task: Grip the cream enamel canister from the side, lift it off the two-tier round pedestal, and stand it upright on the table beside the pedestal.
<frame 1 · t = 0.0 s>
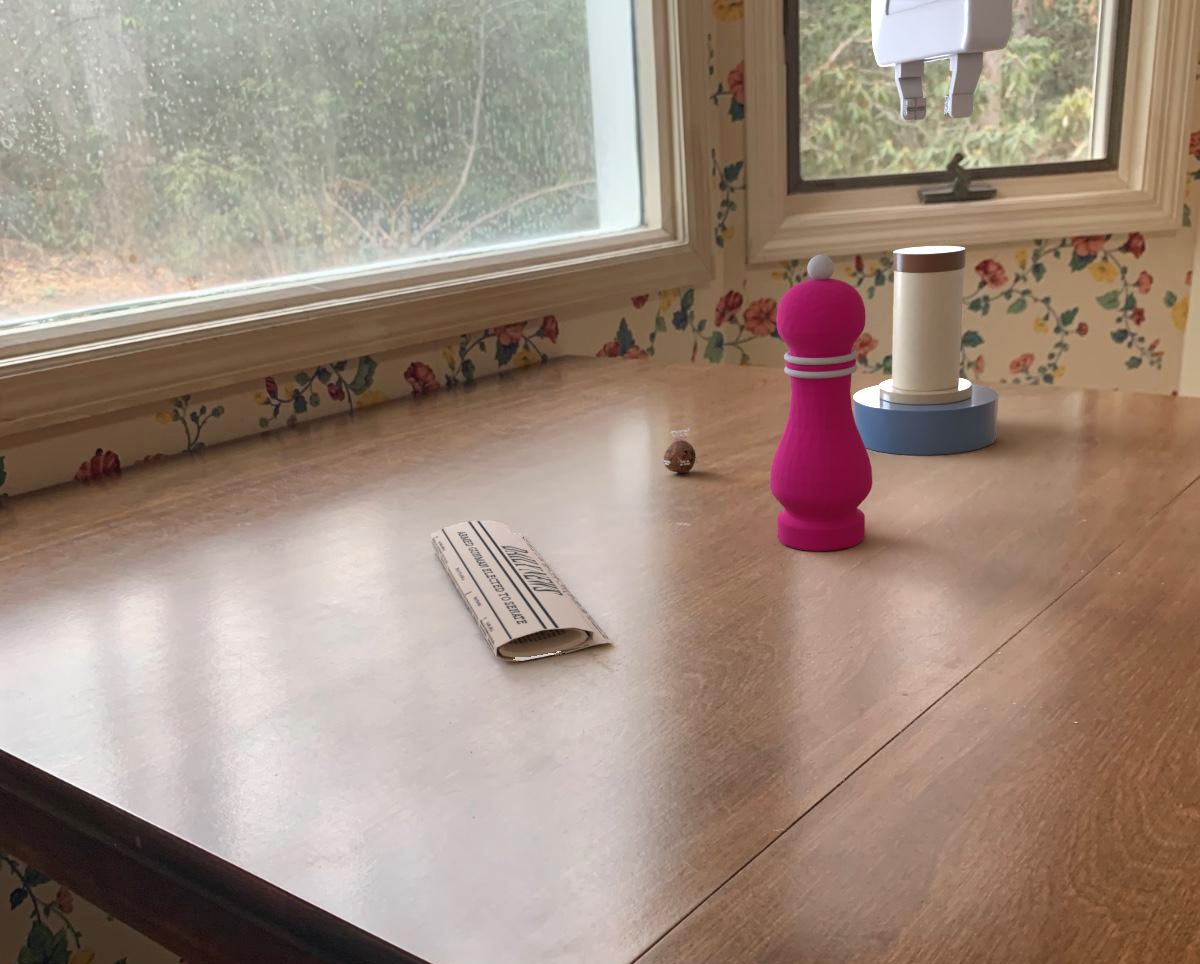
hand: (934, 119, 101), 28 cm above the table, tool pointing down, fingers open, 8 cm apart
newspaper: (511, 594, 82), on the table
pepper mill: (820, 540, 88), on the table
canister: (925, 384, 112), point 5 cm above the table, touching two-tier round pedestal
chocolate: (681, 476, 107), on the table
two-tier round pedestal: (923, 437, 113), on the table
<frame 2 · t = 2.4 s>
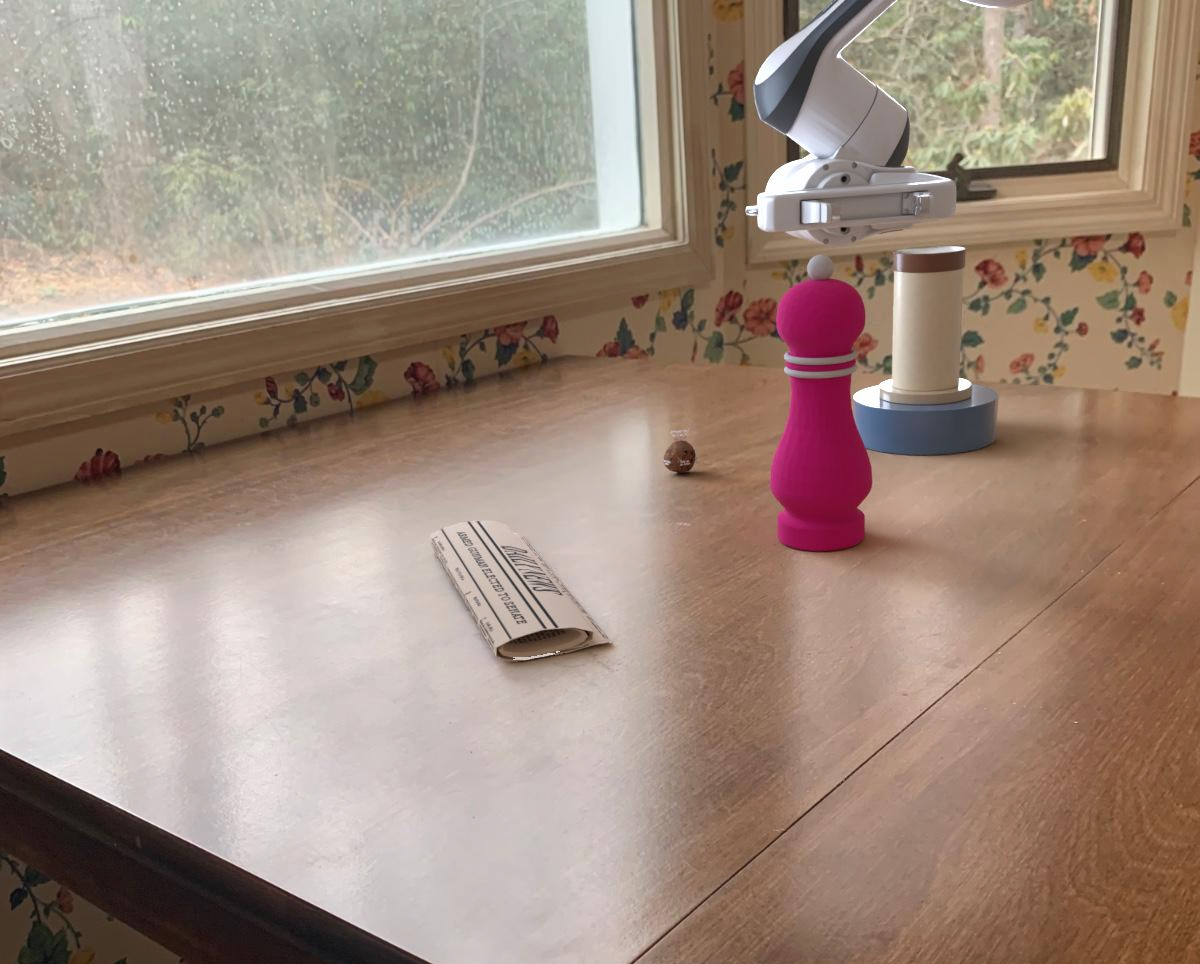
hand: (880, 209, 117), 20 cm above the table, tool horizontal, fingers open, 8 cm apart
nothing on the table moved.
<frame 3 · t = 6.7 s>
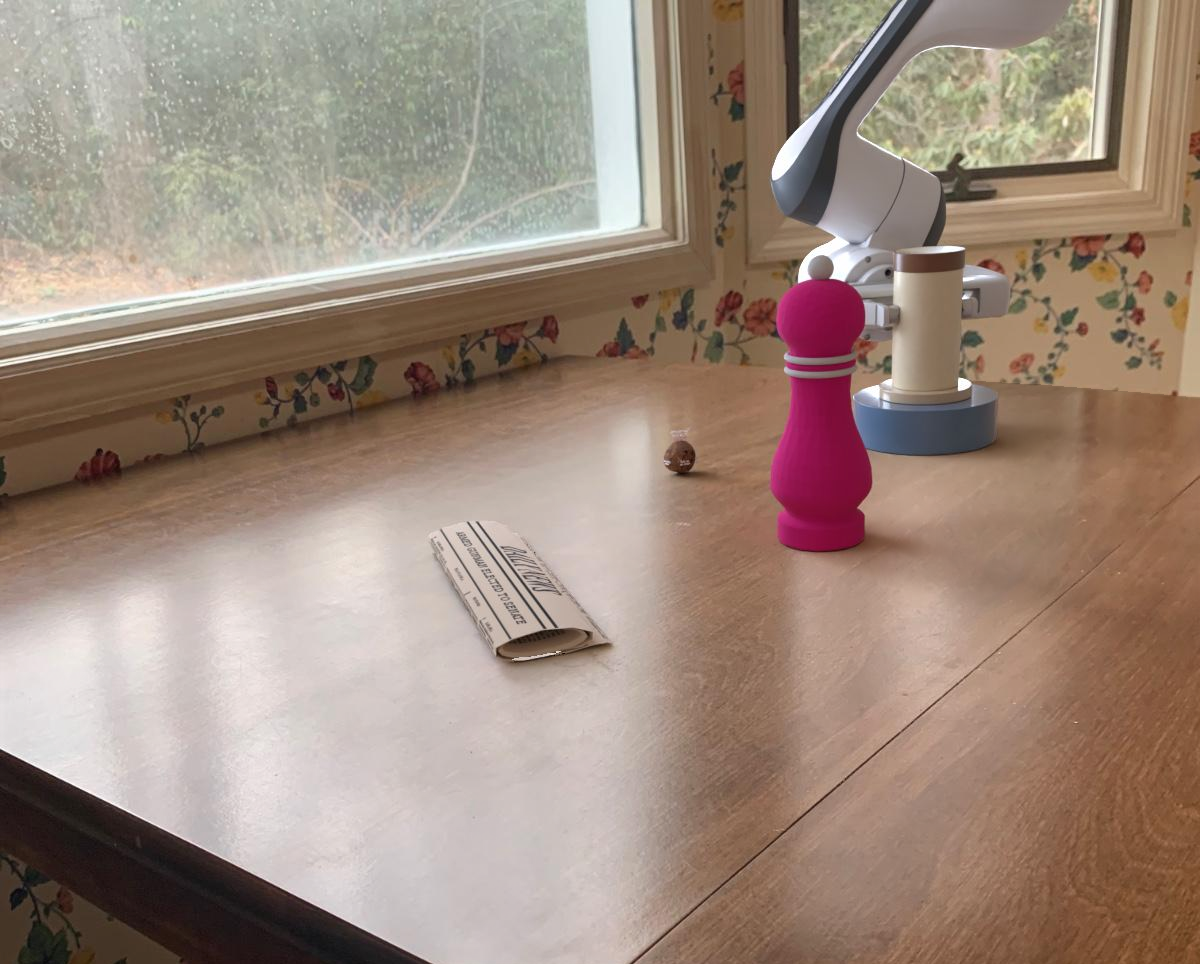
hand: (931, 312, 108), 12 cm above the table, tool horizontal, fingers closed on canister, 6 cm apart
canister: (924, 384, 112), point 5 cm above the table, touching two-tier round pedestal, gripper
everything else where it was.
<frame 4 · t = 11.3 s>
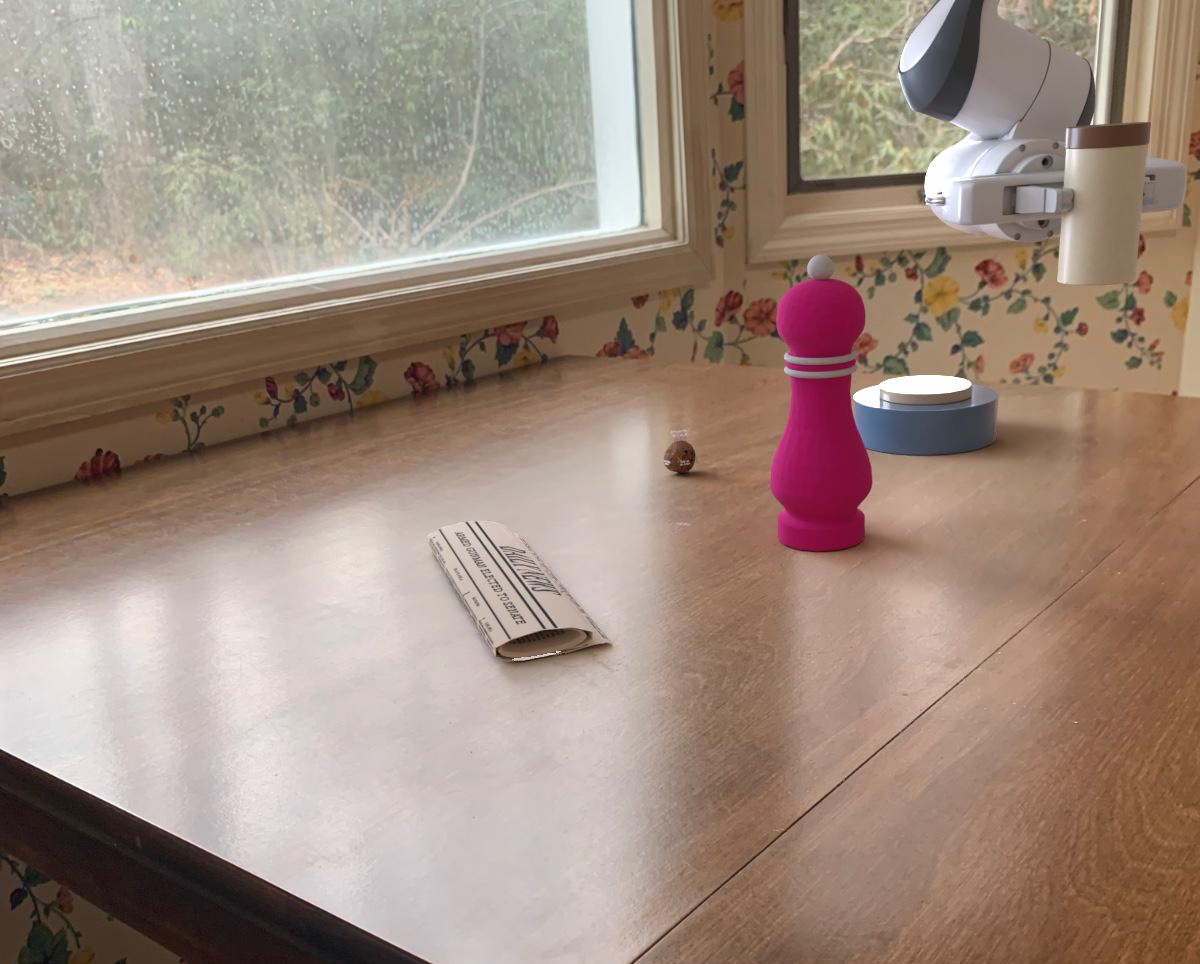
hand: (1109, 197, 97), 21 cm above the table, tool horizontal, fingers closed on canister, 6 cm apart
canister: (1095, 280, 100), point 15 cm above the table, touching gripper
everything else where it was.
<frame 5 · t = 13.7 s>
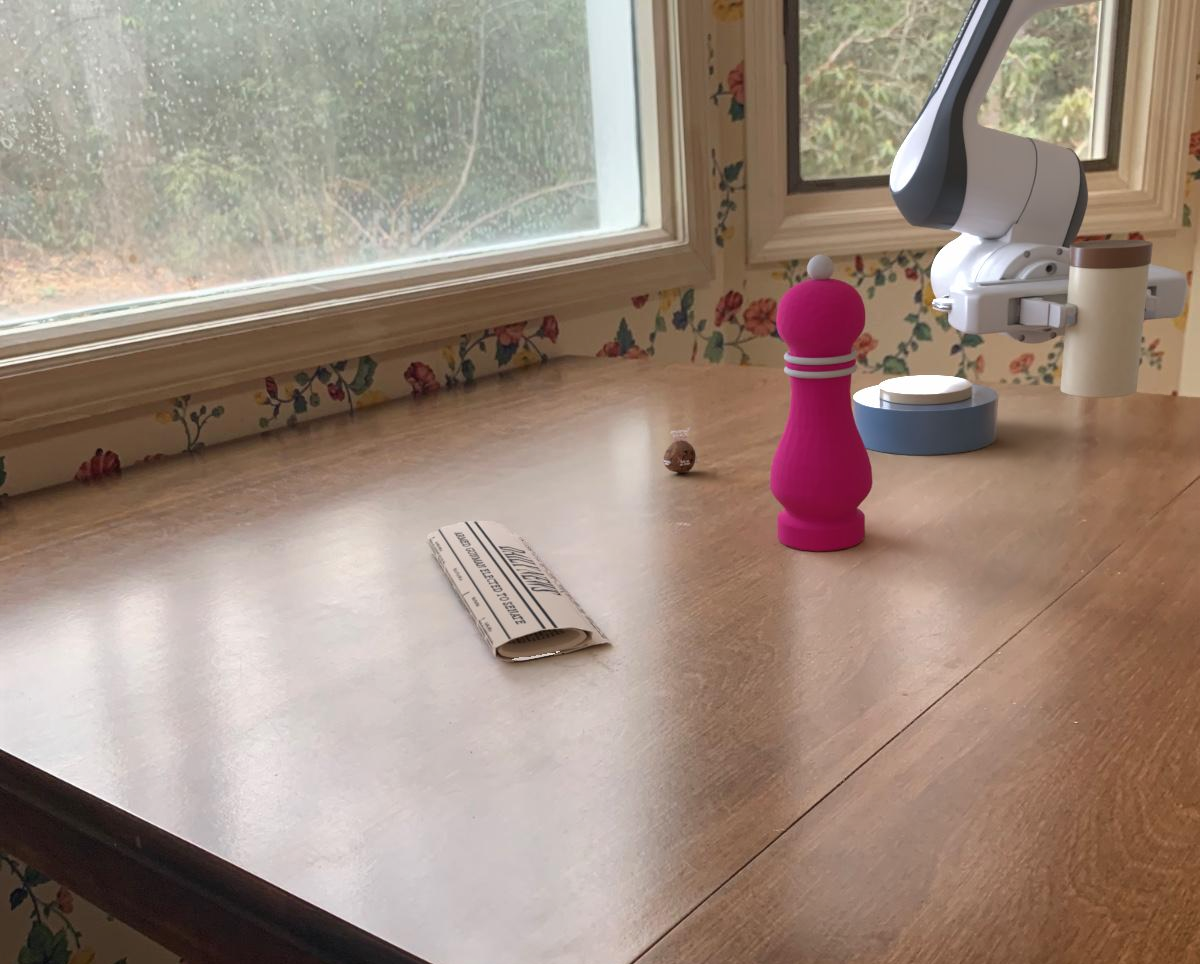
hand: (1111, 312, 99), 12 cm above the table, tool horizontal, fingers closed on canister, 6 cm apart
canister: (1098, 390, 102), point 5 cm above the table, touching gripper
everything else where it was.
when the fingers open (7 cm above the table, at t = 15.8 s): canister stays where it is, on the table.
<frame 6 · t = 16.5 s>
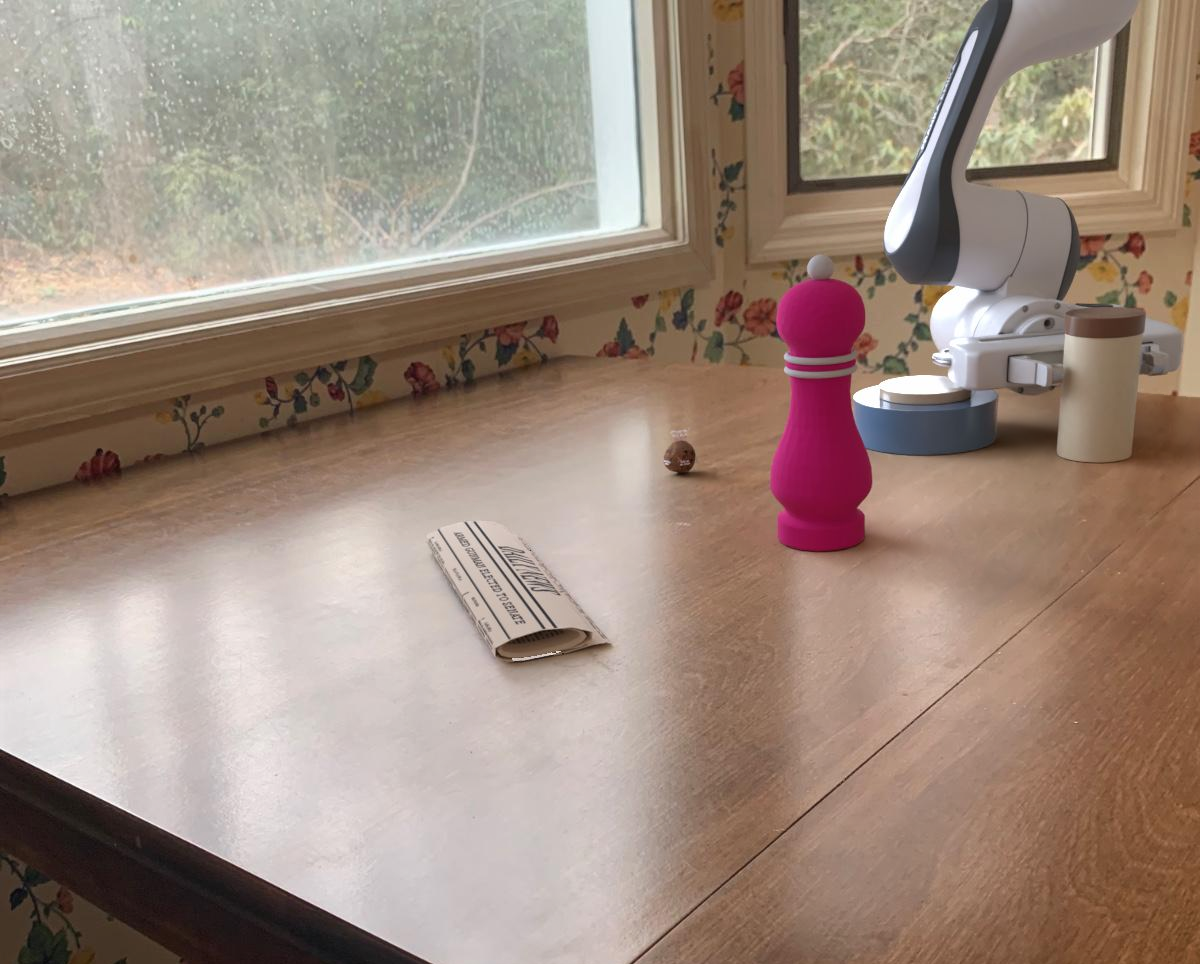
hand: (1108, 371, 101), 7 cm above the table, tool horizontal, fingers open, 8 cm apart
canister: (1093, 453, 104), on the table
everything else where it was.
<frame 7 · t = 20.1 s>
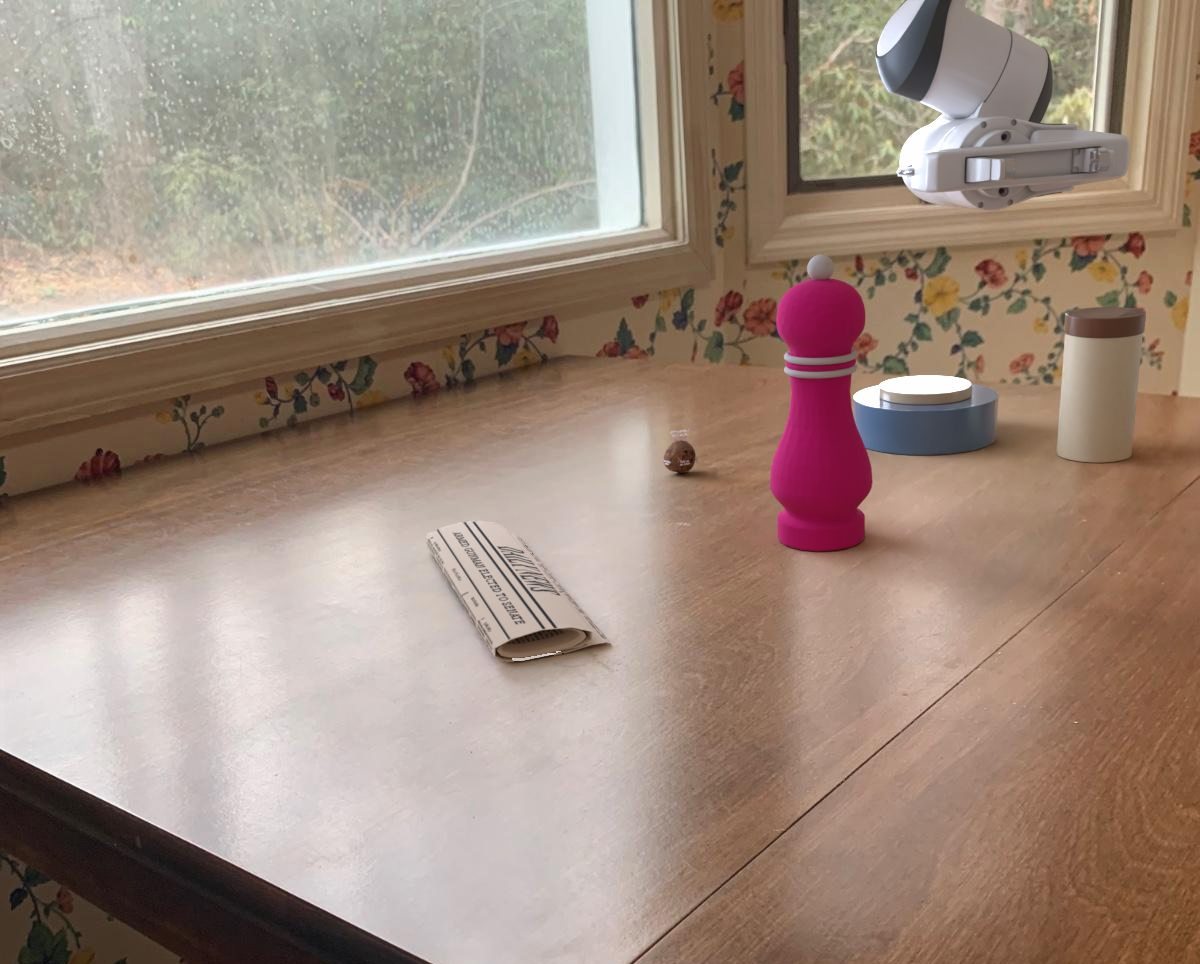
hand: (1057, 165, 109), 23 cm above the table, tool horizontal, fingers open, 8 cm apart
nothing on the table moved.
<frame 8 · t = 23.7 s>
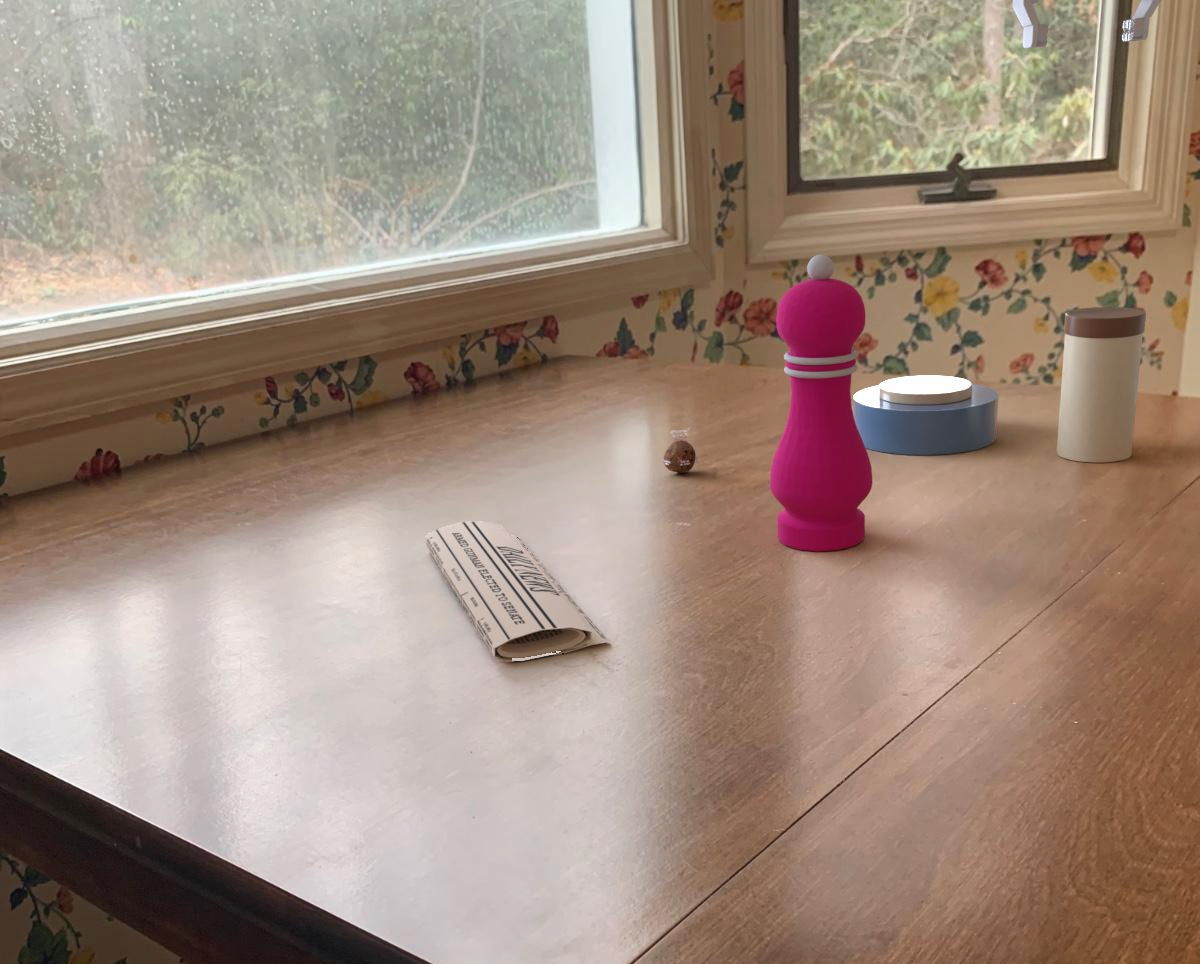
hand: (1085, 44, 108), 33 cm above the table, tool pointing down, fingers open, 8 cm apart
nothing on the table moved.
at the end: canister inside the target area (0.2 cm from its centre), on the table; canister tilted 0°; canister touching table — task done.
